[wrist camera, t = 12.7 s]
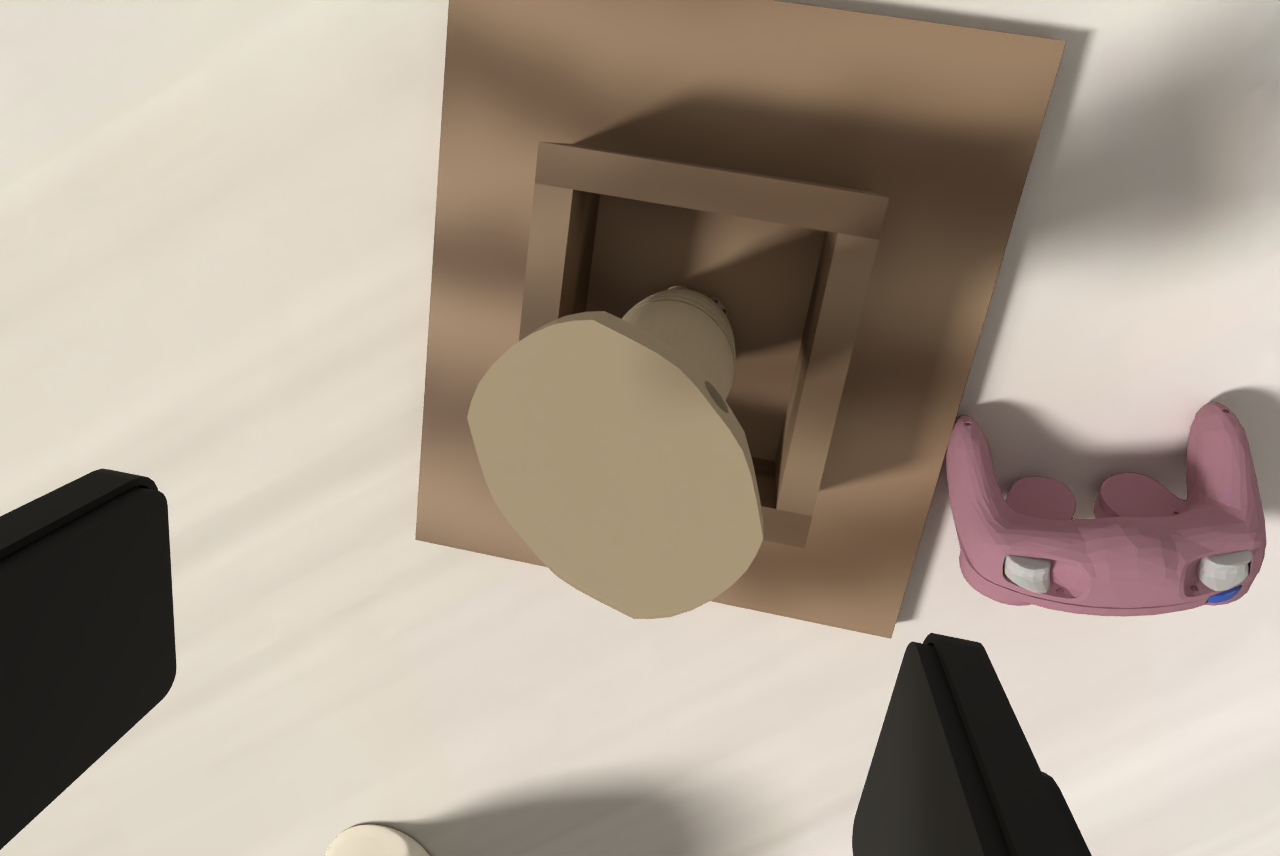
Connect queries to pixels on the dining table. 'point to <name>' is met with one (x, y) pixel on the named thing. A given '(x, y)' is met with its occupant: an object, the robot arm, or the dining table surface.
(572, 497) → the handle
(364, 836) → the beer glass
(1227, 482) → the video game controller
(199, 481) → the dining table surface
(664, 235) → the holder
